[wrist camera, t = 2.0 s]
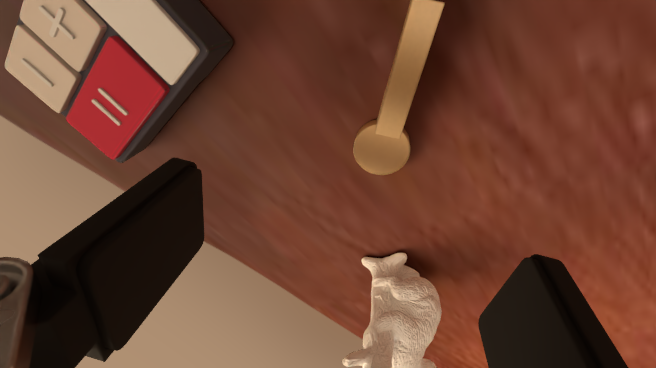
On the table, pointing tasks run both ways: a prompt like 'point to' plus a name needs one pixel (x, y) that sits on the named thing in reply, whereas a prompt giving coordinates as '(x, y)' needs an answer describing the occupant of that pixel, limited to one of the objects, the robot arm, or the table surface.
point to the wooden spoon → (399, 93)
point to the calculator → (115, 63)
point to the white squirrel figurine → (397, 317)
